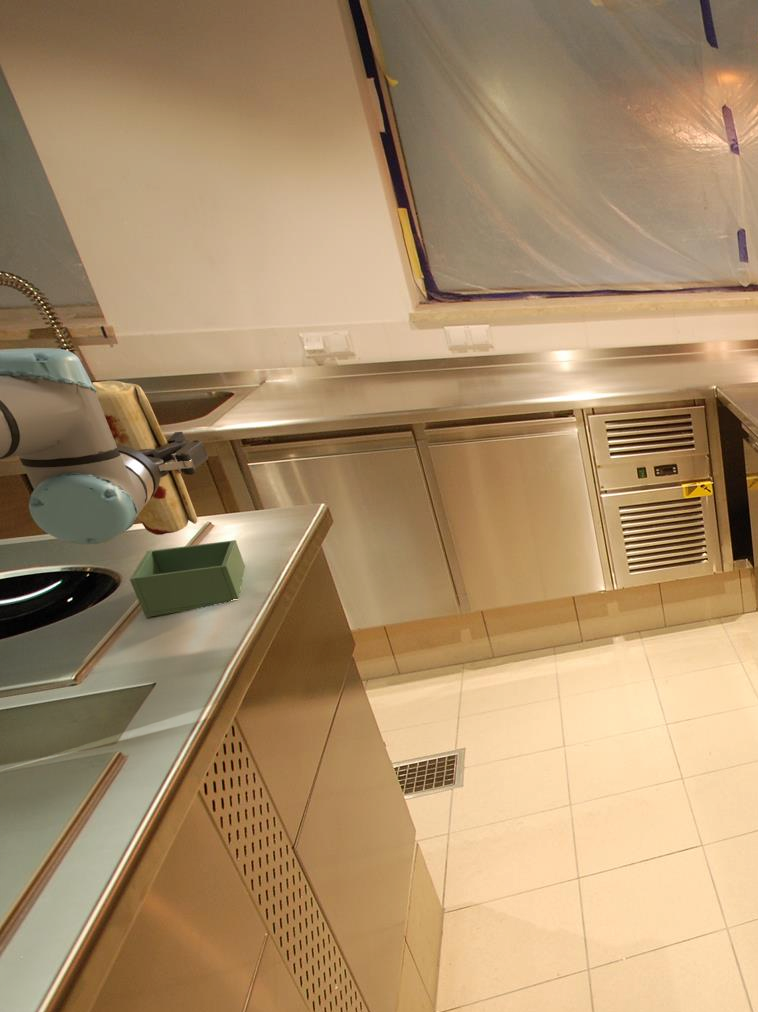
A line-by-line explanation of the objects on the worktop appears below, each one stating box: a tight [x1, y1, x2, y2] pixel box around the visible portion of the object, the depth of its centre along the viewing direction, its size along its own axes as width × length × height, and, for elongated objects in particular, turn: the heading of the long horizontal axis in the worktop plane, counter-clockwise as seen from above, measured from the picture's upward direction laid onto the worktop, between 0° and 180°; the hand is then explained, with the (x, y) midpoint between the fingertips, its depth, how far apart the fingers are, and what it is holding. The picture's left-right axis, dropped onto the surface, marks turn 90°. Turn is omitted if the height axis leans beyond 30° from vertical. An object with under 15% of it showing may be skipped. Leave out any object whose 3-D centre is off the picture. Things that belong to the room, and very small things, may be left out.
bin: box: [129, 540, 246, 618], centre depth 121 cm, size 10×13×6 cm
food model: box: [91, 380, 198, 536], centre depth 112 cm, size 10×7×20 cm
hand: (147, 444), depth 116 cm, fingers closed on food model, 7 cm apart
